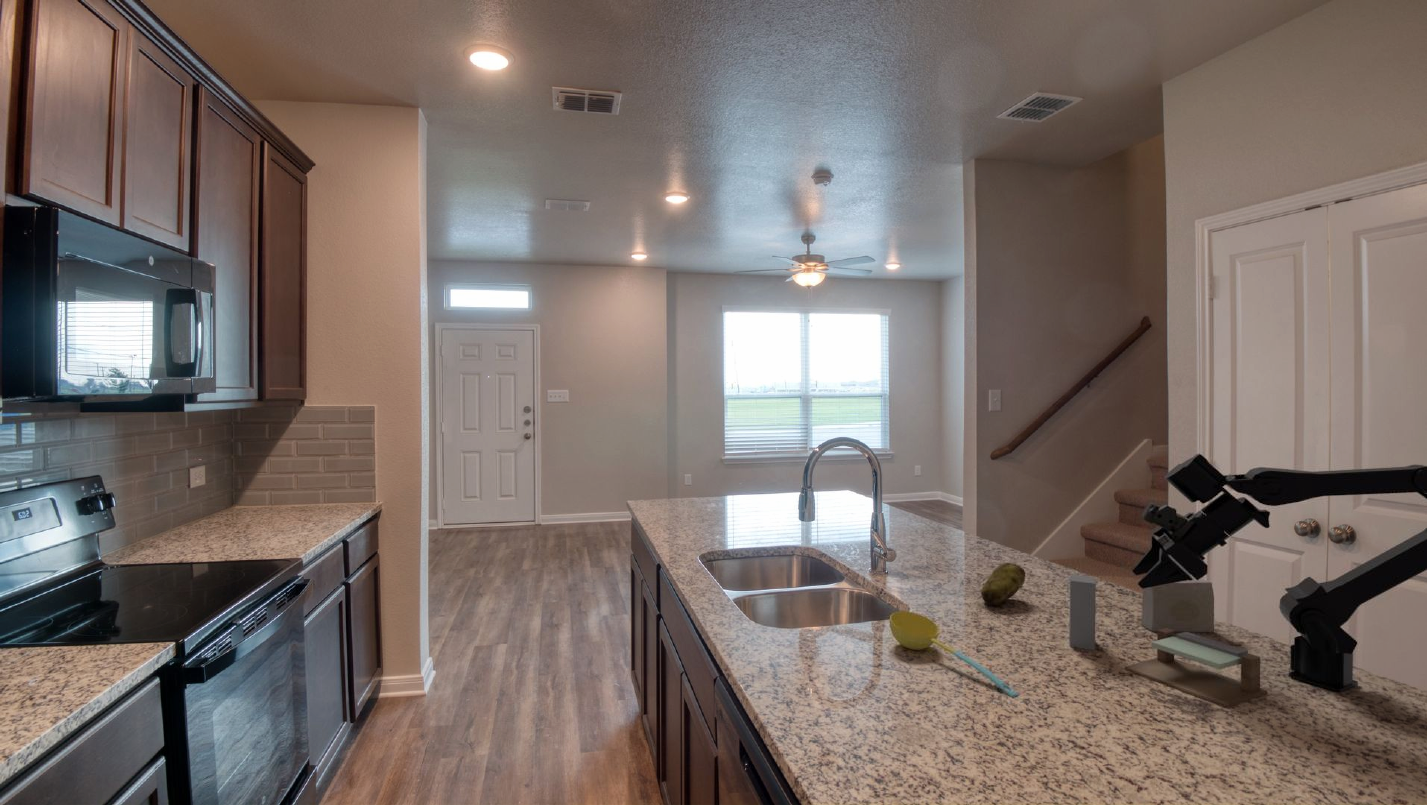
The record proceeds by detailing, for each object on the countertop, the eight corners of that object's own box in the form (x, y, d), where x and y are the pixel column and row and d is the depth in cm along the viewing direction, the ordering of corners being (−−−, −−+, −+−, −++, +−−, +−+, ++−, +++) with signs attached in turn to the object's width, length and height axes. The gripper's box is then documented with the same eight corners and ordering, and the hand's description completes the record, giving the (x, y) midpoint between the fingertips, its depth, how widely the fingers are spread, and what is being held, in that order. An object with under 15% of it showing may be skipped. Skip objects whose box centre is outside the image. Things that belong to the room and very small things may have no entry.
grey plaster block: (1201, 626, 130) (1202, 578, 130) (1215, 632, 127) (1215, 583, 126) (1140, 625, 130) (1140, 577, 130) (1151, 632, 127) (1152, 583, 127)
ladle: (911, 630, 126) (917, 602, 125) (1027, 721, 103) (1035, 689, 101) (875, 635, 122) (881, 607, 121) (986, 732, 99) (995, 698, 98)
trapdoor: (1251, 662, 103) (1251, 651, 103) (1219, 673, 100) (1219, 661, 100) (1183, 641, 112) (1183, 630, 112) (1151, 649, 109) (1151, 639, 109)
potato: (965, 599, 147) (965, 563, 147) (1008, 592, 152) (1008, 558, 152) (993, 610, 139) (994, 573, 139) (1038, 603, 144) (1038, 567, 144)
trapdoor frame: (1267, 693, 101) (1267, 657, 101) (1226, 707, 96) (1227, 670, 96) (1164, 657, 114) (1165, 626, 114) (1124, 668, 110) (1125, 636, 110)
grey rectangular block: (1093, 641, 122) (1094, 576, 122) (1095, 650, 118) (1095, 583, 118) (1069, 637, 124) (1069, 574, 124) (1069, 646, 120) (1070, 580, 119)
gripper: (1166, 481, 122) (1097, 534, 128) (1183, 494, 106) (1103, 555, 111) (1218, 527, 119) (1144, 580, 124) (1244, 549, 102) (1158, 608, 107)
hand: (1136, 579), depth 117 cm, fingers open, 9 cm apart
